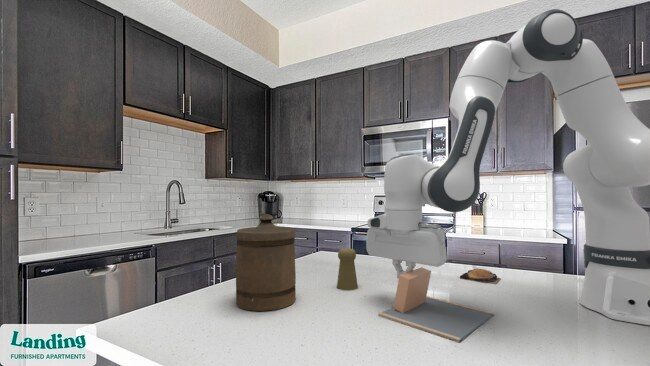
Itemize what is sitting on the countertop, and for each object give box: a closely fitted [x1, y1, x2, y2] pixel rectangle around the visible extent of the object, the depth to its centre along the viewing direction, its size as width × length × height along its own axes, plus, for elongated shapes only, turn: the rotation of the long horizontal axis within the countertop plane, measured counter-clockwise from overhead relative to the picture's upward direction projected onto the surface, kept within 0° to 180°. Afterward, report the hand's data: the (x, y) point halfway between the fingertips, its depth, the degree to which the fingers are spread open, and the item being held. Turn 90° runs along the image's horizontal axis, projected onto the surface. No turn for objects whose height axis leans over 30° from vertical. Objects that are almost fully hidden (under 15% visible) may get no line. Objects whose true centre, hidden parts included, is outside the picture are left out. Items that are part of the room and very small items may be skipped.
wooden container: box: [235, 213, 297, 312], centre depth 81 cm, size 15×15×22 cm
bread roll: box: [459, 267, 501, 285], centre depth 100 cm, size 11×9×4 cm
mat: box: [377, 296, 495, 343], centre depth 71 cm, size 18×18×1 cm
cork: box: [336, 247, 359, 291], centre depth 92 cm, size 6×6×11 cm
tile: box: [393, 266, 432, 313], centre depth 75 cm, size 2×10×8 cm, turn 134°
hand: (404, 279), depth 77 cm, fingers closed
